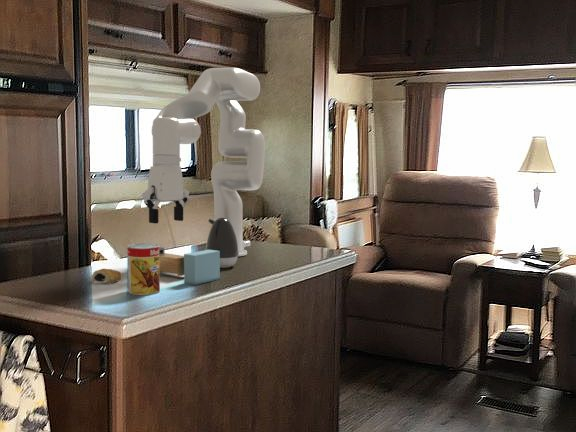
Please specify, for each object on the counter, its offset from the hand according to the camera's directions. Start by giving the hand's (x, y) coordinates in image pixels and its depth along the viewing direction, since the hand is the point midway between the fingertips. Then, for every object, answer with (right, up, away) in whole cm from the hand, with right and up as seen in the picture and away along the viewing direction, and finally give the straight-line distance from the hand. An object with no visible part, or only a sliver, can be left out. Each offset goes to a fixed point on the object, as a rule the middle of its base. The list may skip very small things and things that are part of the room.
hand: (166, 221), depth 199 cm
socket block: (+11, -16, -6) cm, 21 cm away
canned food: (-2, -18, -20) cm, 27 cm away
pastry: (-15, -17, -7) cm, 24 cm away
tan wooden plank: (-2, -14, +4) cm, 15 cm away
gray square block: (-7, -15, +7) cm, 18 cm away
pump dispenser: (+14, -14, +16) cm, 26 cm away
